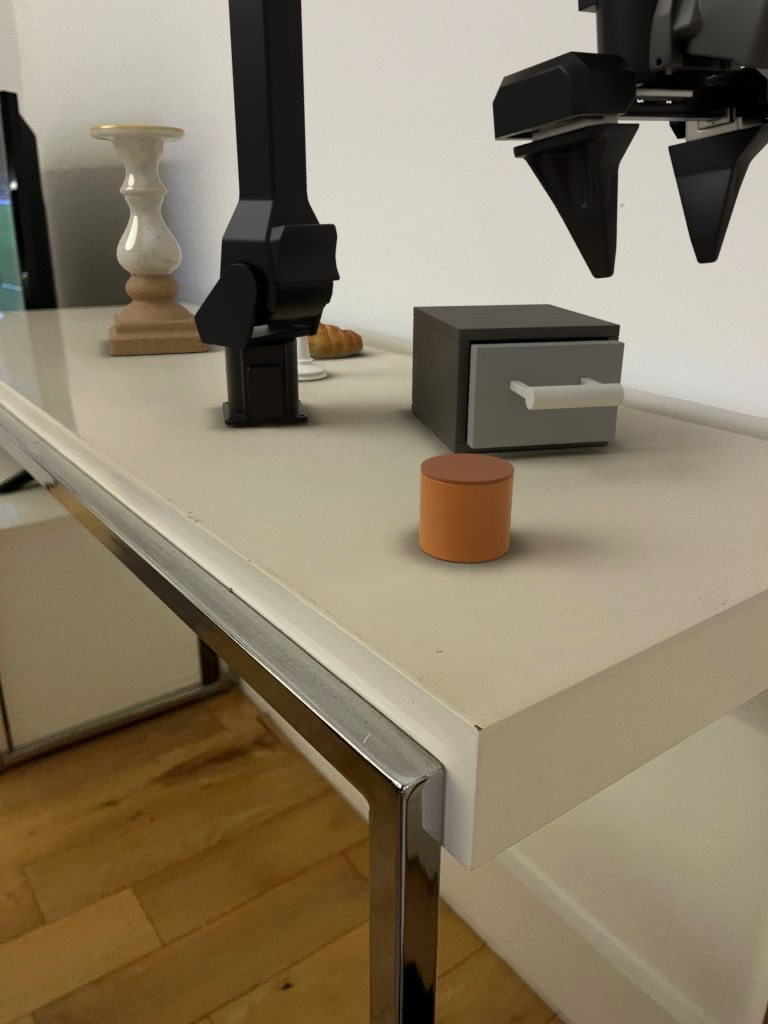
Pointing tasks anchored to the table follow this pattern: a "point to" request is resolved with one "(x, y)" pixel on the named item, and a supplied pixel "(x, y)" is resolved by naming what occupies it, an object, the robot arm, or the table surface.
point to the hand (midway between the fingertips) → (658, 270)
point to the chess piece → (307, 362)
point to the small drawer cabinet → (447, 357)
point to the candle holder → (148, 250)
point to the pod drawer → (543, 391)
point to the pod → (465, 507)
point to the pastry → (334, 342)
